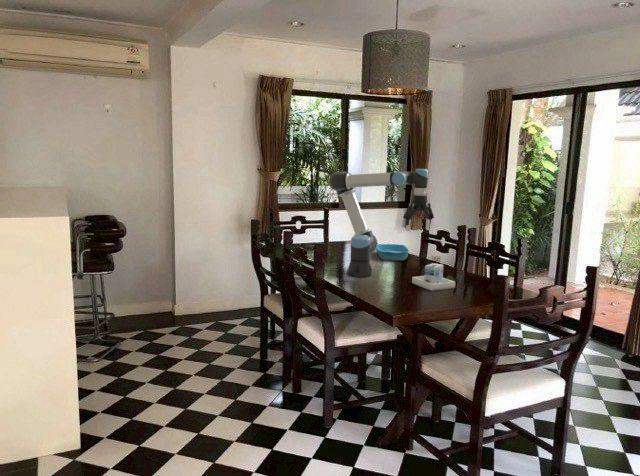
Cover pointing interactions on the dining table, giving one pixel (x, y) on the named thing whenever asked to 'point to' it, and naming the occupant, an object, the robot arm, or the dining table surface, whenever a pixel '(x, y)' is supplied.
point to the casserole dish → (392, 251)
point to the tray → (439, 286)
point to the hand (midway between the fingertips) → (417, 230)
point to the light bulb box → (433, 273)
